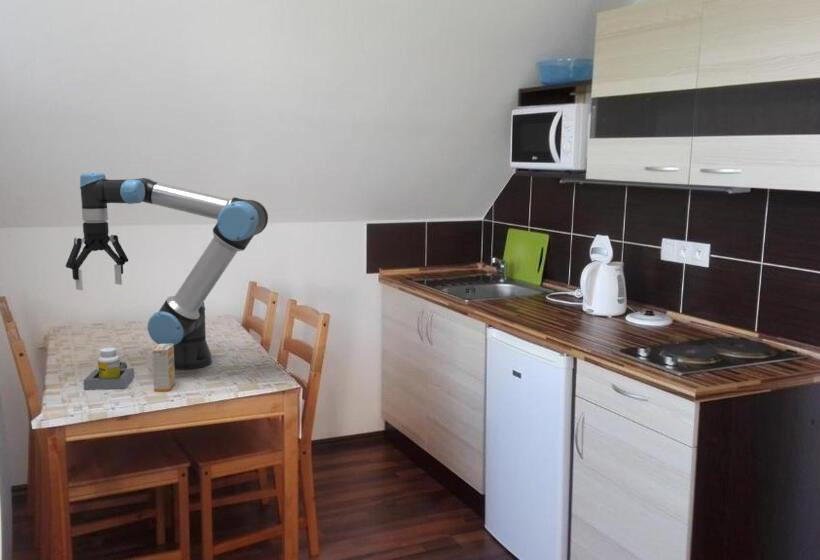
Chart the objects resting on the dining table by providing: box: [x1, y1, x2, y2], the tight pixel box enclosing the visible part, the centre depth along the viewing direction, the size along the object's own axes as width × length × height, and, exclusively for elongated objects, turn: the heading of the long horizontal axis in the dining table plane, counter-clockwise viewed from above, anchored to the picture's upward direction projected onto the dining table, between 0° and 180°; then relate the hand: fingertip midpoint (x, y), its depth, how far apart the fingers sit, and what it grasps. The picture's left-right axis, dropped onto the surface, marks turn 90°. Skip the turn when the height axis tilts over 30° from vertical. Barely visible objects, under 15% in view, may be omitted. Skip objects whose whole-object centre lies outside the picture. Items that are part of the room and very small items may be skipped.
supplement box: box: [151, 344, 176, 392], centre depth 230 cm, size 8×5×13 cm, turn 5°
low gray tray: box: [83, 361, 135, 391], centre depth 240 cm, size 22×12×3 cm, turn 7°
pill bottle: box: [97, 347, 121, 378], centre depth 234 cm, size 6×6×11 cm
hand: (99, 287), depth 243 cm, fingers open, 13 cm apart
